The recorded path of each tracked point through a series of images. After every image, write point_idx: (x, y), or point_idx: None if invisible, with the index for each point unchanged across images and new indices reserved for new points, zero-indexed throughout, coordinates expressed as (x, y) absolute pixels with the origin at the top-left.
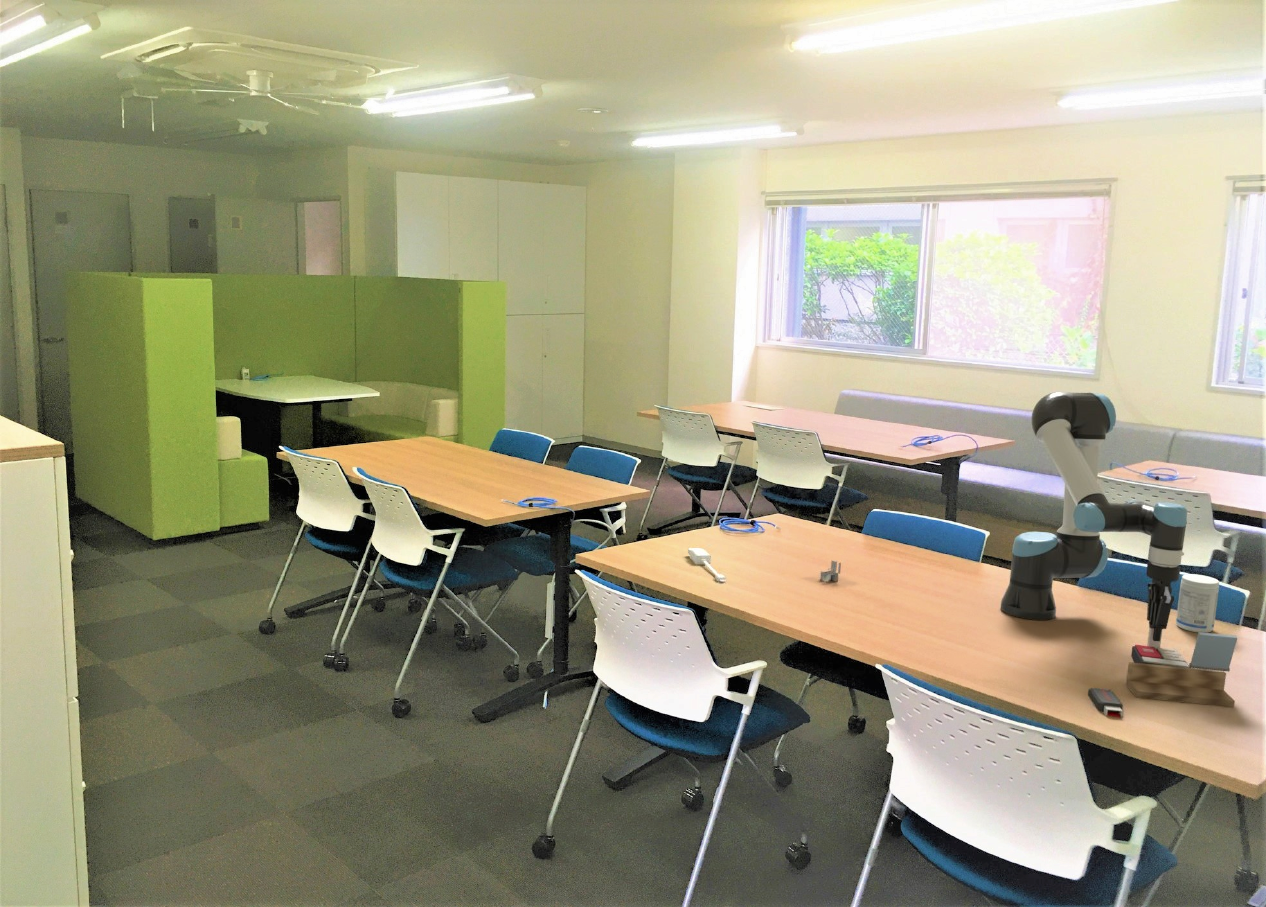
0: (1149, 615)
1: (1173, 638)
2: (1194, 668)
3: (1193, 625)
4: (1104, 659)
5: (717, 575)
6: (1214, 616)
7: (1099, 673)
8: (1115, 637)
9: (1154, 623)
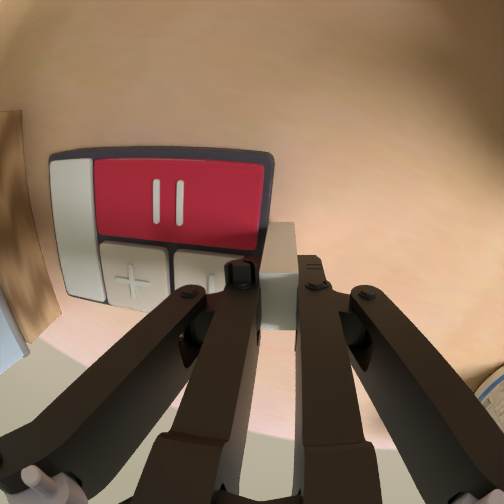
0: (360, 313)
1: (460, 344)
2: (4, 283)
3: (486, 393)
4: (186, 44)
5: None
6: None
7: (64, 43)
8: (470, 169)
9: (220, 298)
